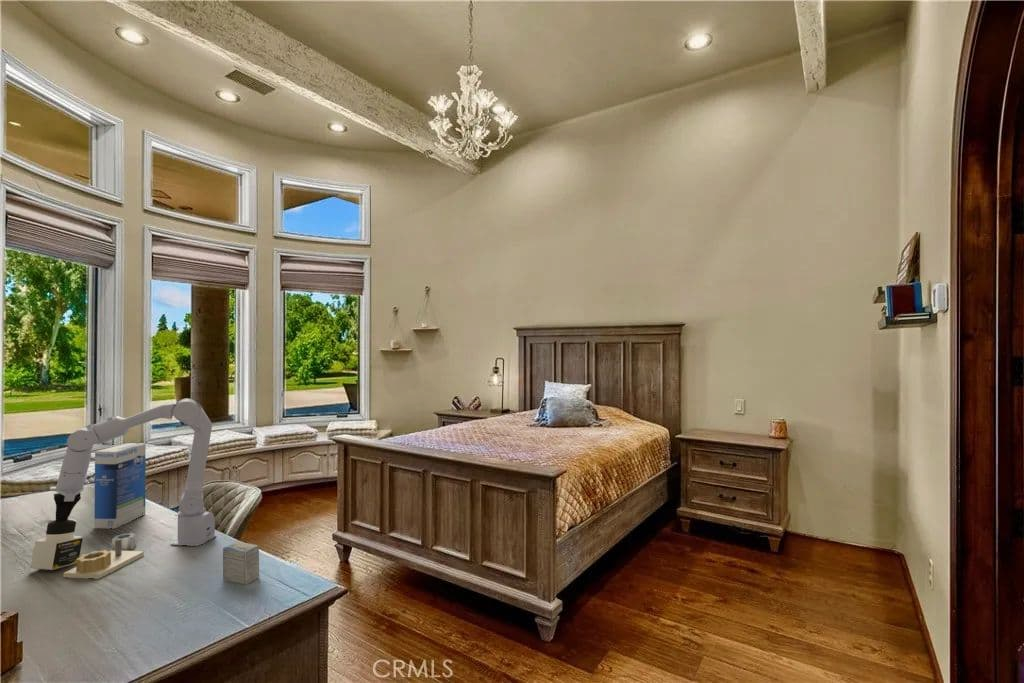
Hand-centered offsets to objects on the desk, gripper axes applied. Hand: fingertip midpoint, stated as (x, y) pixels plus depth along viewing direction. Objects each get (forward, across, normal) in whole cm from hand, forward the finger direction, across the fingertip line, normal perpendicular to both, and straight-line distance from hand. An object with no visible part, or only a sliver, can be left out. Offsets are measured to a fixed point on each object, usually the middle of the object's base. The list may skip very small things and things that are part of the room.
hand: (60, 521), depth 134 cm
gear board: (+10, +10, +11) cm, 18 cm away
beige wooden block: (+4, +44, +35) cm, 57 cm away
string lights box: (+10, -30, +18) cm, 36 cm away
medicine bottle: (+12, +2, +1) cm, 12 cm away
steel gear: (+9, -1, +16) cm, 19 cm away
